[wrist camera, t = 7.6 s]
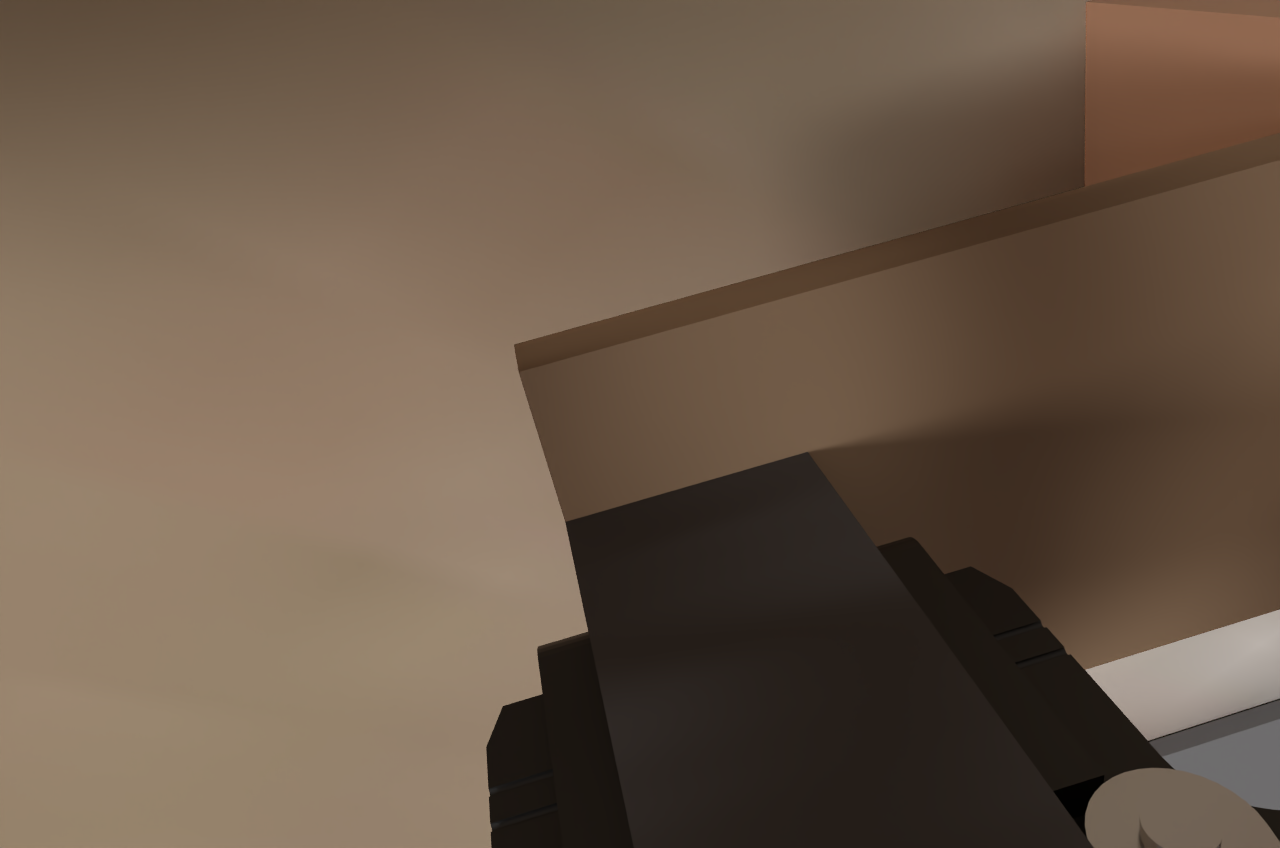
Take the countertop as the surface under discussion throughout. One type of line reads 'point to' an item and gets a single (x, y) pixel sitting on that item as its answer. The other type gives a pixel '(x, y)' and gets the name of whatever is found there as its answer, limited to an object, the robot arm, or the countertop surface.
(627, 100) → the countertop surface
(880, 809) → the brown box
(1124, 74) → the tile
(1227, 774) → the mat
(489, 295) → the countertop surface
